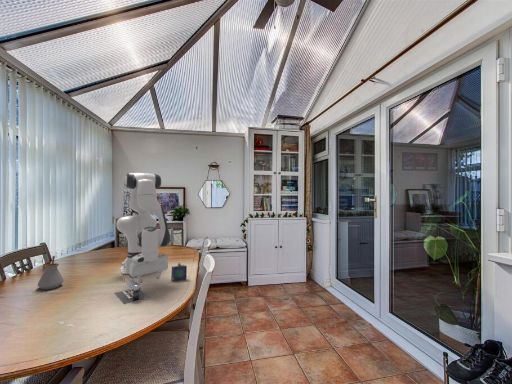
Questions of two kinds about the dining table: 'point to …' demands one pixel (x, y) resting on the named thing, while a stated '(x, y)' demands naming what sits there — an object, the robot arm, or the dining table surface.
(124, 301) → the chassis plate
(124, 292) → the label plate
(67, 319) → the dining table surface
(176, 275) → the flask
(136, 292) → the dark grey cylinder
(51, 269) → the grey vase with sticks
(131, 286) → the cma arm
